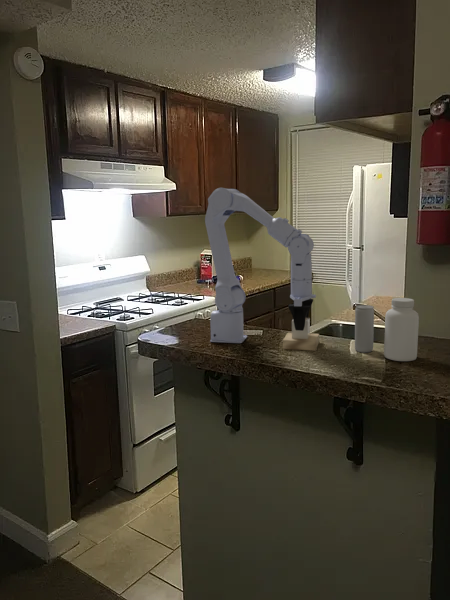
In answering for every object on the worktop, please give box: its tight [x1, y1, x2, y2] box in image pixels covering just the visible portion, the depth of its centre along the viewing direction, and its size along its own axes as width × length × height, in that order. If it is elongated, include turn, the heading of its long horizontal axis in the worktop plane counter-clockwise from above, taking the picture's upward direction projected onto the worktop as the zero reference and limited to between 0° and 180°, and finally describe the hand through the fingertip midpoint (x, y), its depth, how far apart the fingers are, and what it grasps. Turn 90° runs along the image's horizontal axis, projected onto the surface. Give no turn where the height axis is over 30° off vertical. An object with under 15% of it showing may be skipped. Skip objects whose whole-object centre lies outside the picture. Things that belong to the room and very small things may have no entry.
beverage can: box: [354, 304, 375, 353], centre depth 135 cm, size 5×5×12 cm
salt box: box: [291, 317, 311, 339], centre depth 142 cm, size 4×4×5 cm
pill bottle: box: [383, 297, 420, 362], centre depth 127 cm, size 8×8×15 cm
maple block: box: [282, 332, 320, 351], centre depth 143 cm, size 9×9×3 cm
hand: (301, 327), depth 142 cm, fingers open, 7 cm apart
